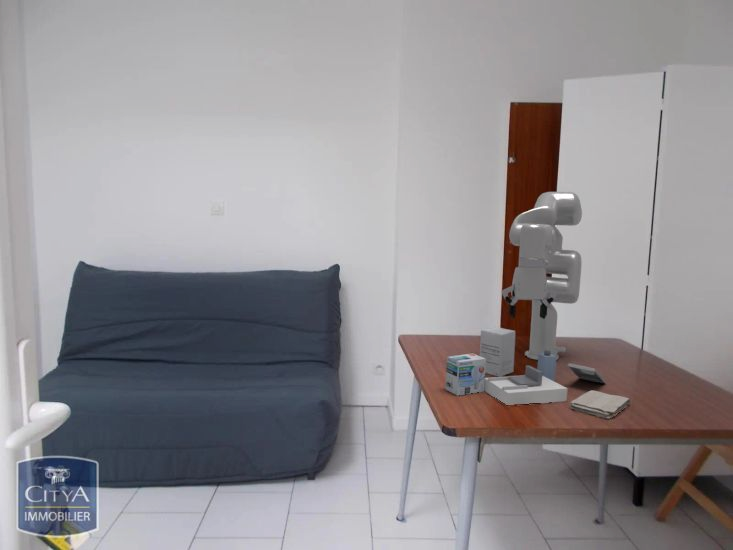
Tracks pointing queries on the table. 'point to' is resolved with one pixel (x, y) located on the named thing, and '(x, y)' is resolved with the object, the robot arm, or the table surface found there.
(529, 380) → the block
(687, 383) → the table surface
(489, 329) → the supplement box
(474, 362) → the light bulb box
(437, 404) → the table surface
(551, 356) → the plug
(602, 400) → the washcloth
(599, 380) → the light switch
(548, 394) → the socket block
